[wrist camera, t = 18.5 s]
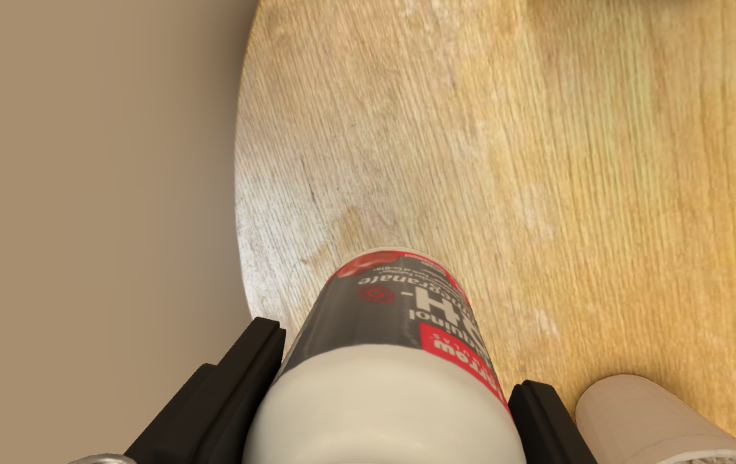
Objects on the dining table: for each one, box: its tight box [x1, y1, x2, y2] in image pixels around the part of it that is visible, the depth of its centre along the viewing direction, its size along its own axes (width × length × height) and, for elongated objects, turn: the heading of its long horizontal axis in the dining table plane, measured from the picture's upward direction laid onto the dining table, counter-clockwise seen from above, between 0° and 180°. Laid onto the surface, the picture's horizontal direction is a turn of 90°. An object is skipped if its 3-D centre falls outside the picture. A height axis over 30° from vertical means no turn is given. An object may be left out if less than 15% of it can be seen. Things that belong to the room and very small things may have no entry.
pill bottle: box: [242, 246, 527, 464], centre depth 9 cm, size 5×5×10 cm
